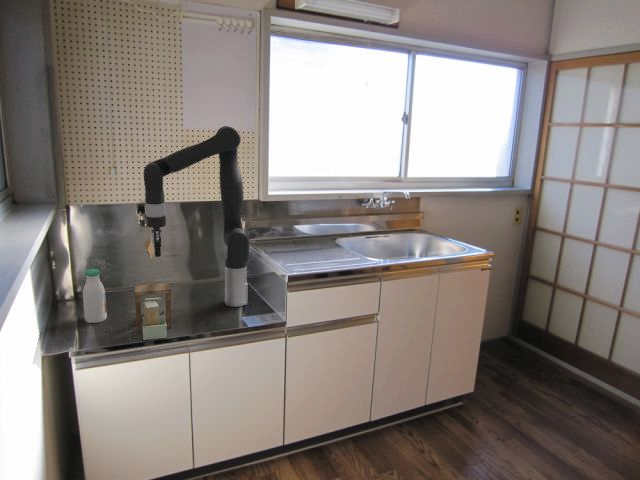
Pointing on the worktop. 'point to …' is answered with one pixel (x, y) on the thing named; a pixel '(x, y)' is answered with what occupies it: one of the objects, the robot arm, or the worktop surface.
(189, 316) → the worktop surface
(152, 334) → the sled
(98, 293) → the milk bottle
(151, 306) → the skincare box
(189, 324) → the worktop surface
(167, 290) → the tunnel
